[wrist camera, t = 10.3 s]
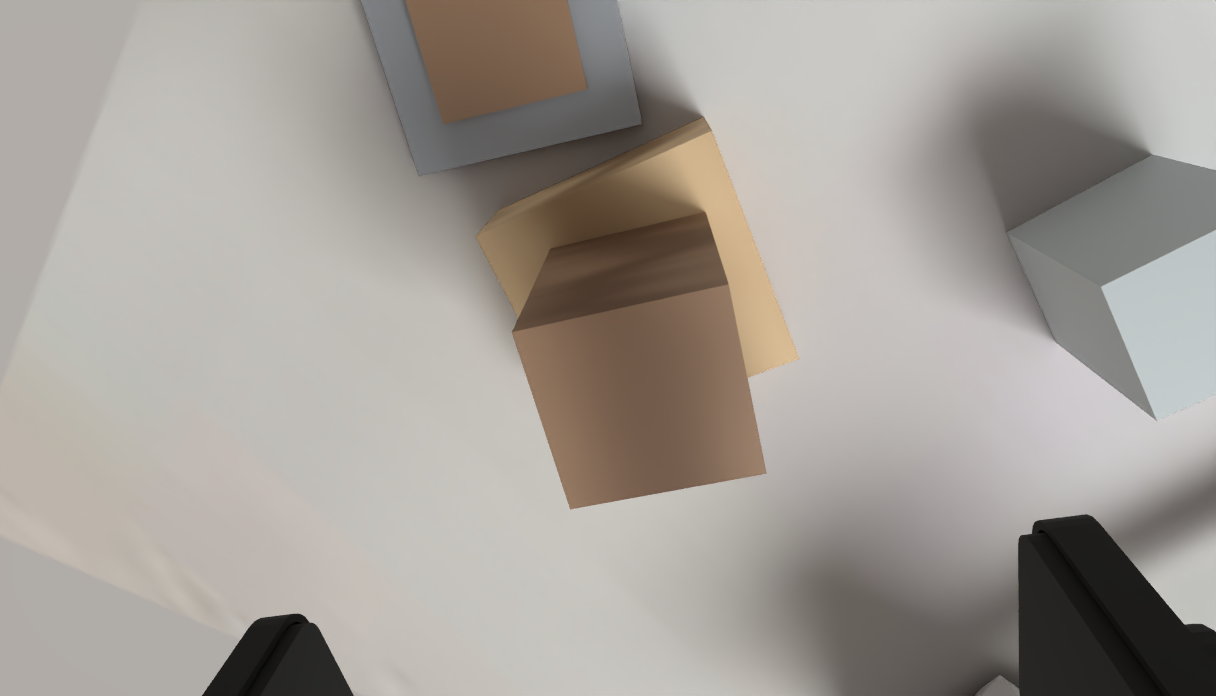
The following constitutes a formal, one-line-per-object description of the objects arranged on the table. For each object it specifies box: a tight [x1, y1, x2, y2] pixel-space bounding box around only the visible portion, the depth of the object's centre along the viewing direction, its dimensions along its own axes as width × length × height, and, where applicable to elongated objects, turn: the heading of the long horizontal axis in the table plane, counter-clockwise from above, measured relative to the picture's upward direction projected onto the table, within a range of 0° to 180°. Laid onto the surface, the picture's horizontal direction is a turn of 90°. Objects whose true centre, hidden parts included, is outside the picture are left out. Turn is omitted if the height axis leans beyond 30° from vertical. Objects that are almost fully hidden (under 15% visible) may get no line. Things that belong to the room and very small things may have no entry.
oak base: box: [476, 117, 799, 378], centre depth 25 cm, size 8×8×4 cm
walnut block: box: [512, 212, 766, 509], centre depth 20 cm, size 5×5×7 cm
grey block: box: [1006, 155, 1216, 421], centre depth 23 cm, size 5×5×6 cm
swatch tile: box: [361, 0, 642, 176], centre depth 23 cm, size 8×8×1 cm
